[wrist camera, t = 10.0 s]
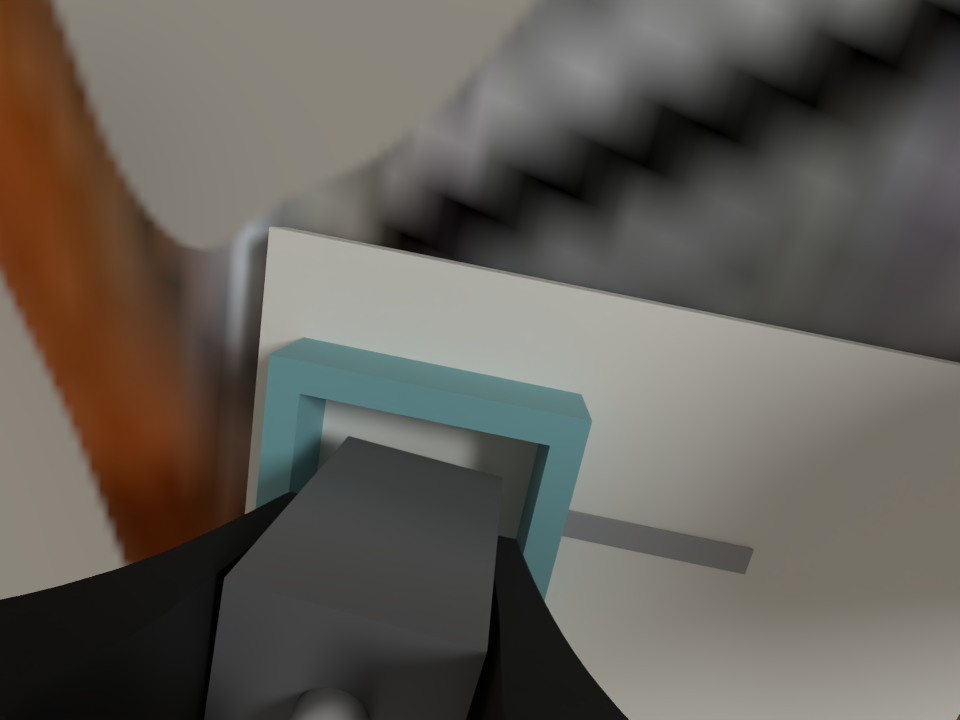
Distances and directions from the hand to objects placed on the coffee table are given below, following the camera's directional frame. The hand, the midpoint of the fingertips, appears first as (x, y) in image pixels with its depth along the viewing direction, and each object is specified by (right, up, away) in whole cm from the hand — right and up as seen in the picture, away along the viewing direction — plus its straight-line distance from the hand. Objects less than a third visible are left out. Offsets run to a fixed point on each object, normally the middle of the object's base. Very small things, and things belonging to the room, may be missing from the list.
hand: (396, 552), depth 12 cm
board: (+6, 0, +4) cm, 7 cm away
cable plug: (0, 0, +1) cm, 1 cm away
